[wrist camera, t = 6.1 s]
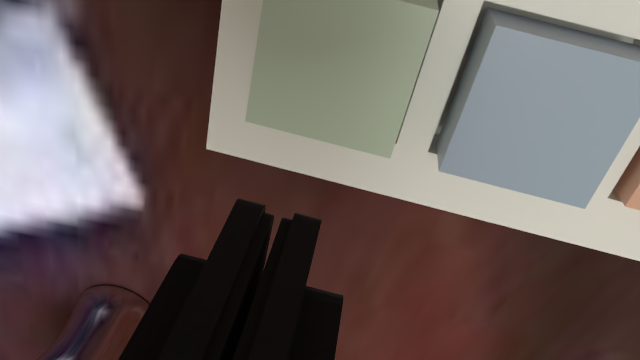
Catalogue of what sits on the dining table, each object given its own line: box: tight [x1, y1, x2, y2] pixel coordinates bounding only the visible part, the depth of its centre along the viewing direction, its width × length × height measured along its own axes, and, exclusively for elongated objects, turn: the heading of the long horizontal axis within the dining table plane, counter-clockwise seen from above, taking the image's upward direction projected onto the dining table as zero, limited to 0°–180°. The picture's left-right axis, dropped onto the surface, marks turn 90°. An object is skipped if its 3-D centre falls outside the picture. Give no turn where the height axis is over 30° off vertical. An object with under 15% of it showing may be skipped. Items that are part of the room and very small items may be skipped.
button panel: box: [206, 0, 640, 261], centre depth 23 cm, size 12×26×4 cm, turn 78°
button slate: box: [436, 7, 640, 209], centre depth 21 cm, size 6×6×2 cm
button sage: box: [245, 0, 439, 159], centre depth 21 cm, size 6×6×2 cm
